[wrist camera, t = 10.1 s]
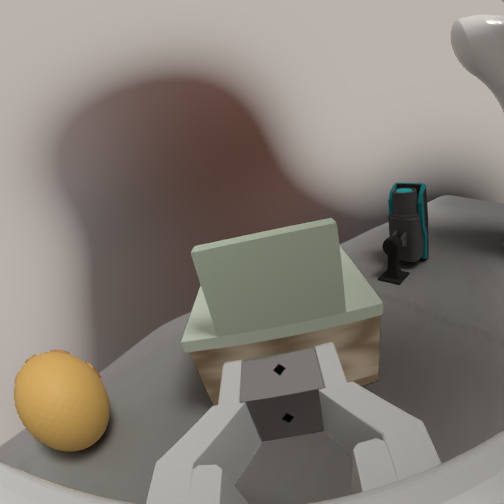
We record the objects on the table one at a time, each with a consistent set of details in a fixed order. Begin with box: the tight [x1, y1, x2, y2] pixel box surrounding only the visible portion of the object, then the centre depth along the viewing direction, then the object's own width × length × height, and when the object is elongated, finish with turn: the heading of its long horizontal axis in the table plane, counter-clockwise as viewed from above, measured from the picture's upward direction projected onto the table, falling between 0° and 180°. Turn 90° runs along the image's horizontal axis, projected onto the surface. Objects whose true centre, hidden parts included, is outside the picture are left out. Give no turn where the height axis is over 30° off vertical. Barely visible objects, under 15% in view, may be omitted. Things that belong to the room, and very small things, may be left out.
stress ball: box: [14, 350, 110, 451], centre depth 21 cm, size 10×10×10 cm
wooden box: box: [190, 316, 380, 406], centre depth 29 cm, size 15×13×8 cm
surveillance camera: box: [378, 183, 428, 285], centre depth 40 cm, size 6×12×10 cm
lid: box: [181, 218, 383, 352], centre depth 26 cm, size 15×14×7 cm
